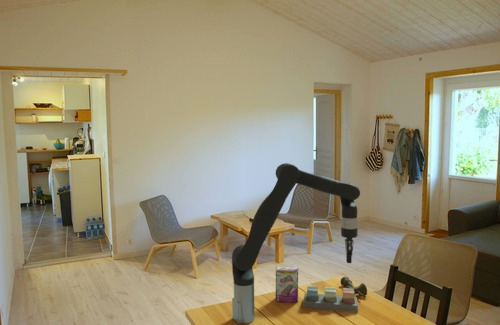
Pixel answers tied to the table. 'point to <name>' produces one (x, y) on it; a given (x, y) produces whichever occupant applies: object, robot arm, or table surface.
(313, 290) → the slate-blue block
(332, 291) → the sage block
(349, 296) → the terracotta block
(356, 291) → the kendama
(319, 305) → the charcoal board
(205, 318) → the table surface
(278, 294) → the candy bar box
